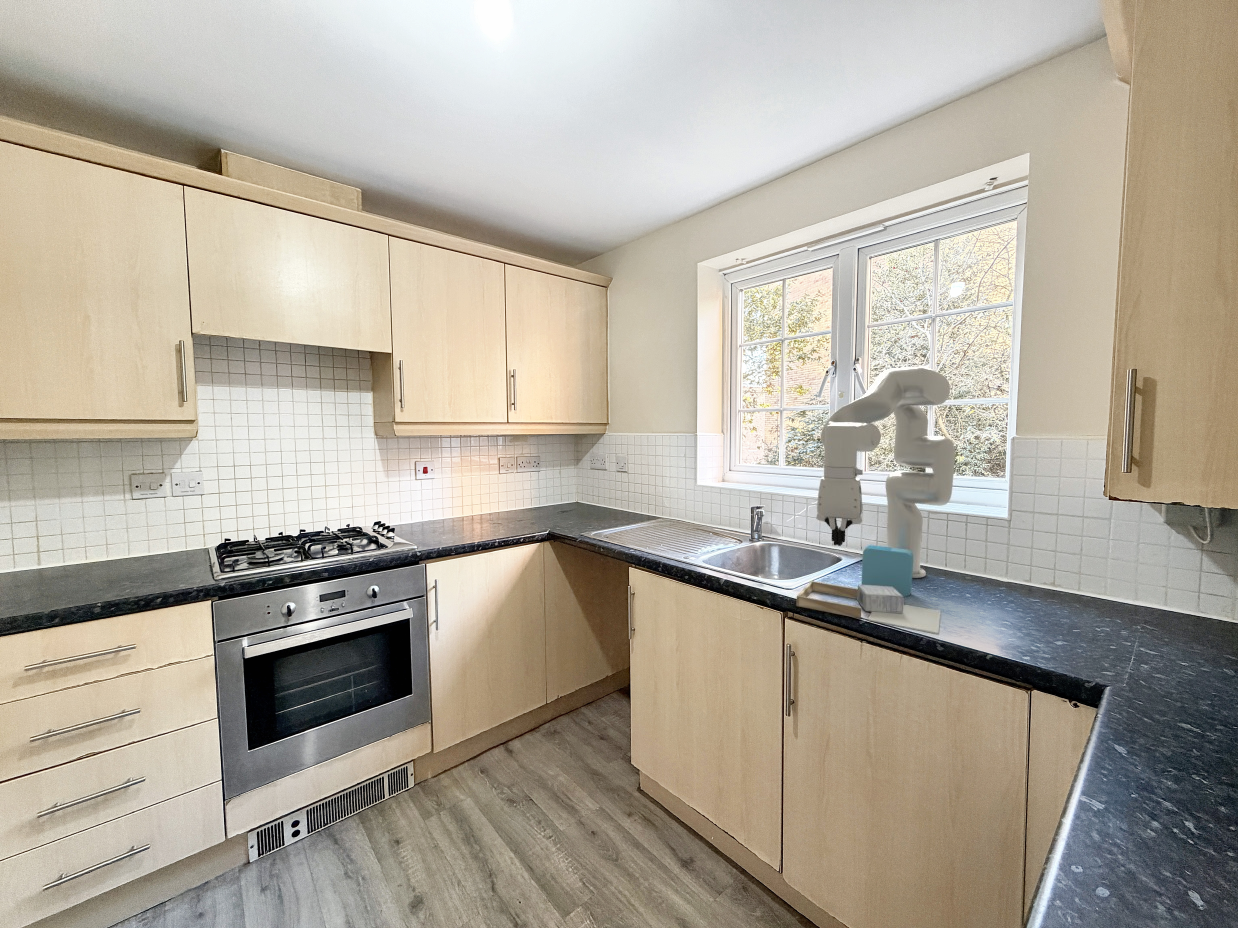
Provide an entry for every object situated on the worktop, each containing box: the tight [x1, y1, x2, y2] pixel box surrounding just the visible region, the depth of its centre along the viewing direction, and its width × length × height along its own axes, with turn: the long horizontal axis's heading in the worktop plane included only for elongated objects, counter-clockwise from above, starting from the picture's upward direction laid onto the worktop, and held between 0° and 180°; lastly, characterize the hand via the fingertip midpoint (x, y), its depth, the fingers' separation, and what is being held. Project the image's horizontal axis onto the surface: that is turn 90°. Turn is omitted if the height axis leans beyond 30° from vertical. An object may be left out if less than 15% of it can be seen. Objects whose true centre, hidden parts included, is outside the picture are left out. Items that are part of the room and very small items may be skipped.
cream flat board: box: [867, 604, 941, 635], centre depth 124 cm, size 16×14×1 cm
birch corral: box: [795, 580, 863, 619], centre depth 133 cm, size 15×15×2 cm
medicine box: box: [857, 584, 905, 613], centre depth 129 cm, size 8×4×9 cm
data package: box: [860, 544, 914, 598], centre depth 142 cm, size 12×4×12 cm, turn 57°
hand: (838, 544), depth 132 cm, fingers closed
